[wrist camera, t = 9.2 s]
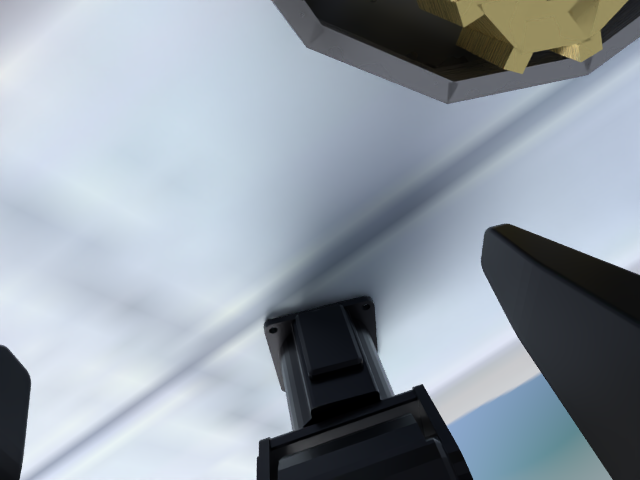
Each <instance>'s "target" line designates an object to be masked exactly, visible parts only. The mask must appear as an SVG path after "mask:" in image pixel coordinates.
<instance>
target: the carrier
mask: <svg viewBox="0 0 640 480" xmlns="http://www.w3.org/2000/svg"><path fill="white" fill-rule="evenodd" d="M271 1H272V2H273V4H274V5H275V6H276V8H277V9H278V10H279V12H280V13H281V14H282V16H283V17H284V19H285V20H286V21H287V23H288V24H289V25H290V27H291V28H292V29H293V31H294V32H295V33H296V35H297V36H298V37H299V39H300V40H301V41H302V42H303V43H304V45H305V46H306V47H307V48H309V49H312V50H314V51H317V52H319V53H322V54H324V55H327V56H329V57H332V58H334V59H337V60H339V61H342V62H344V63H347V64H349V65H352V66H354V67H357V68H359V69H362V70H364V71H367V72H369V73H372V74H374V75H377V76H379V77H382V78H384V79H387V80H389V81H392V82H394V83H397V84H399V85H401V86H404V87H406V88H409V89H411V90H414V91H416V92H419V93H421V94H424V95H426V96H429V97H431V98H434V99H436V100H439V101H441V102H444V103H446V104H450V103H454V102H459V101H464V100H469V99H474V98H479V97H483V96H488V95H493V94H498V93H503V92H508V91H512V90H517V89H522V88H527V87H532V86H537V85H541V84H546V83H551V82H556V81H561V80H566V79H570V78H575V77H580V76H585V75H588V74H590V73H591V72H593V71H594V70H595V69H597V68H598V67H599V66H601V65H602V64H603V63H605V62H606V61H608V60H609V59H610V58H612V57H613V56H614V55H616V54H617V53H618V52H620V51H621V50H623V49H624V48H625V47H627V46H628V45H629V44H631V43H632V42H633V41H635V40H636V39H638V38H639V37H640V0H628V1H627V2H626V3H625V4H624V5H623V6H622V8H621V9H620V10H619V11H618V12H617V13H616V14H615V15H614V16H613V17H612V18H611V19H610V20H609V21H608V22H607V24H606V25H605V26H604V27H603V28H602V29H601V38H602V47H603V49H602V50H601V51H599V52H597V53H596V54H594V55H592V56H591V57H589V58H588V59H586V60H584V61H583V62H578V61H576V60H573V59H571V58H568V57H565V56H563V55H560V54H558V53H555V52H553V51H550V50H543V51H538V52H533V54H532V56H531V58H530V60H529V62H528V64H527V66H526V68H525V70H524V72H523V74H520V73H516V72H513V71H509V70H505V69H502V68H500V67H498V66H497V65H495V64H493V63H491V62H489V61H487V60H485V59H483V58H481V57H479V56H477V55H475V54H473V53H471V52H469V51H467V50H465V49H463V48H461V47H459V46H457V45H456V43H457V40H458V38H459V36H460V33H461V31H462V28H463V27H461V26H459V25H457V24H454V23H452V22H450V21H447V20H445V19H443V18H440V17H438V16H436V15H433V14H431V13H429V12H426V11H424V10H422V9H420V8H419V6H418V3H417V0H271Z"/></svg>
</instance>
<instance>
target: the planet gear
mask: <svg viewBox="0 0 640 480" xmlns="http://www.w3.org/2000/svg"><path fill="white" fill-rule="evenodd" d="M627 1H628V0H417V3H418V6H419V8H420V9H422V10H424V11H426V12H429V13H431V14H433V15H436V16H438V17H440V18H443V19H445V20H447V21H450V22H452V23H454V24H457V25H459V26H461V27H463V28H462V31H461V33H460V36H459V38H458V40H457V43H456V45H457V46H459V47H461V48H463V49H465V50H467V51H469V52H471V53H473V54H475V55H477V56H479V57H481V58H483V59H485V60H487V61H489V62H491V63H493V64H495V65H497V66H498V67H500V68H502V69H505V70H509V71H513V72H516V73H520V74H523V72H524V70H525V68H526V66H527V64H528V62H529V60H530V58H531V56H532V54H533V52H538V51H543V50H550V51H553V52H555V53H558V54H560V55H563V56H565V57H568V58H571V59H573V60H576V61H578V62H583V61H584V60H586V59H588V58H589V57H591V56H592V55H594V54H596V53H597V52H599V51H601V50H602V49H603V47H602V38H601V29H602V28H603V27H604V26H605V25H606V24H607V22H608V21H609V20H610V19H611V18H612V17H613V16H614V15H615V14H616V13H617V12H618V11H619V10H620V9H621V8H622V6H623V5H624V4H625V3H626V2H627Z"/></svg>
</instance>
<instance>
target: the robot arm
mask: <svg viewBox="0 0 640 480" xmlns="http://www.w3.org/2000/svg"><path fill="white" fill-rule="evenodd" d="M481 265H482V269H483V271H484V274H485V276H486V277H487V279H488V281H489V283H490V285H491V287H492V289H493V291H494V293H495V295H496V297H497V299H498V301H499V303H500V305H501V307H502V308H503V310H504V312H505V314H506V316H507V318H508V320H509V322H510V324H511V326H512V328H513V329H514V331H515V333H516V335H517V336H518V338H519V340H520V341H521V343H522V344H523V346H524V347H525V349H526V350H527V352H528V353H529V355H530V356H531V358H532V359H533V361H534V362H535V364H536V365H537V367H538V368H539V370H540V371H541V373H542V374H543V376H544V377H545V379H546V380H547V382H548V383H549V385H550V386H551V388H552V389H553V391H554V392H555V394H556V395H557V397H558V398H559V400H560V401H561V403H562V404H563V406H564V407H565V409H566V410H567V412H568V413H569V415H570V416H571V418H572V419H573V421H574V422H575V424H576V425H577V427H578V428H579V430H580V431H581V433H582V434H583V436H584V437H585V439H586V440H587V442H588V443H589V445H590V446H591V448H592V449H593V451H594V452H595V454H596V455H597V456H598V458H599V460H600V461H601V463H602V464H603V466H604V467H605V469H606V470H607V471H608V473H609V475H610V476H611V478H612V479H613V480H640V275H638V274H636V273H633V272H631V271H628V270H626V269H623V268H621V267H618V266H615V265H613V264H610V263H608V262H605V261H603V260H600V259H598V258H595V257H593V256H590V255H587V254H585V253H582V252H580V251H577V250H575V249H572V248H570V247H567V246H564V245H562V244H559V243H557V242H554V241H552V240H549V239H547V238H544V237H542V236H539V235H536V234H534V233H531V232H529V231H526V230H524V229H521V228H519V227H516V226H513V225H511V224H501V225H497V226H493V227H489V228H488V229H487V230H486V231H485V234H484V241H483V248H482V256H481ZM365 304H367V305H365ZM363 305H365V306H363ZM272 327H275V328H272ZM264 332H265V336H266V339H267V342H268V346H269V349H270V352H271V356H272V359H273V363H274V366H275V369H276V373H277V376H278V379H279V383H280V386H281V389H282V391H284V392H286V397H287V402H288V408H289V413H290V419H291V425H292V430H293V431H291V432H289V433H286V434H283V435H280V436H277V437H274V438H270V437H268V438H266V439H263V440H260V441H259V456H258V457H257V480H473V478H472V475H471V473H470V471H469V468H468V466H467V464H466V462H465V460H464V457H463V455H462V453H461V451H460V449H459V447H458V445H457V444H456V442H455V440H454V438H453V436H452V435H451V433H450V431H449V429H448V428H447V426H446V424H445V422H444V421H443V419H442V417H441V415H440V414H439V412H438V410H437V409H436V407H435V405H434V403H433V402H432V400H431V398H430V396H429V395H428V393H427V391H426V389H425V388H424V386H423V384H421V385H418V386H415V387H412V390H409V391H407V392H404V393H401V394H398V395H394V393H393V390H392V388H391V385H390V383H389V380H388V378H387V375H386V373H385V370H384V368H383V366H382V363H381V361H380V358H379V356H378V352H377V337H376V322H375V307H374V303H373V301H372V298H370V297H368V296H363V297H359V298H355V299H351V300H347V301H343V302H339V303H335V304H331V305H327V306H323V307H319V308H315V309H311V310H307V311H303V312H299V313H295V314H291V315H287V316H283V317H279V318H275V319H271V320H268V321H267V322H265V324H264ZM30 390H31V379H30V375H29V373H28V371H27V370H26V369H25V368H24V366H23V365H22V364H21V363H20V362H19V361H18V359H17V358H16V357H15V356H14V355H13V354H12V352H11V351H10V350H9V349H8V348H7V347H5V346H3V345H0V480H19V479H20V474H21V469H22V462H23V455H24V446H25V437H26V428H27V418H28V409H29V399H30Z"/></svg>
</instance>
